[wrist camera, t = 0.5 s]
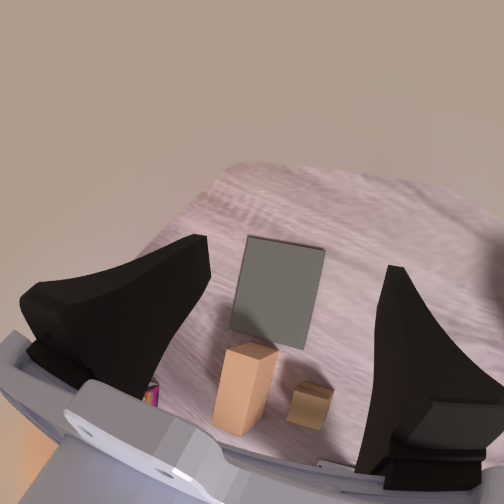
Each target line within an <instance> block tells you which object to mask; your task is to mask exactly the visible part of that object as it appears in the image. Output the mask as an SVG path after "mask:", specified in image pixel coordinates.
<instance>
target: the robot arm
mask: <svg viewBox="0 0 504 504" xmlns="http://www.w3.org/2000/svg"><path fill="white" fill-rule="evenodd" d="M210 278H211V270H210V262H209V253H208V243H207V236H204V235H197V234H192V235H189V236H187V237H184V238H182V239H180V240H177V241H175V242H173V243H171V244H169V245H167V246H165V247H162V248H160V249H158V250H156V251H154V252H152V253H149V254H147V255H145V256H143V257H140V258H138V259H136V260H133V261H131V262H128V263H126V264H123V265H121V266H118V267H115V268H112V269H108V270H105V271H101V272H98V273H94V274H90V275H86V276H81V277H77V278H71V279H65V280H57V281H47V282H38V283H36V284H35V285H34V286H33V287H31V288H30V289H29V290H28V291H27V292H26V293H25V294H23V295H22V296H21V298H20V301H19V302H20V308H21V311H22V313H23V315H24V317H25V319H26V321H27V323H28V325H29V327H30V329H31V330H32V332H33V334H34V336H35V337H36V340H35V341H34V342H33V343H31V341H29V339H27V338H26V337H25V336H23V335H22V334H20V333H19V332H17V331H16V330H13V331H12V333H10V334H9V335H8V336H7V337H6V339H4V341H3V342H1V344H0V392H1V393H2V395H3V396H4V397H5V398H6V399H7V400H8V401H9V402H10V403H11V404H12V405H13V406H14V407H15V408H16V409H17V410H18V411H19V412H21V413H22V414H23V415H24V416H25V417H26V418H27V419H28V420H29V421H31V422H32V423H33V424H34V425H35V426H36V427H37V428H39V429H40V430H41V431H42V432H43V433H45V434H46V435H47V436H48V437H49V438H51V439H52V440H53V441H54V442H56V443H57V444H58V445H59V446H58V448H57V449H56V450H55V452H54V453H53V455H52V456H51V457H50V459H49V460H48V461H47V463H46V464H45V466H44V467H43V468H42V470H41V471H40V473H39V474H38V475H37V477H36V478H35V480H34V481H33V483H32V484H31V486H30V487H29V489H28V490H27V491H26V493H25V494H24V496H23V497H22V498H21V500H20V501H19V503H18V504H504V466H497V467H490V468H486V469H484V470H482V471H481V461H484V460H485V459H486V447H487V446H488V445H490V444H491V443H492V442H493V441H494V440H495V439H496V438H497V437H498V436H499V435H501V434H502V432H503V431H504V386H502V385H501V384H500V383H498V382H497V381H496V380H494V379H493V378H492V377H490V376H489V375H488V374H486V373H485V372H484V371H483V370H482V369H481V368H479V367H478V366H477V365H476V364H475V363H474V362H473V361H472V360H471V359H469V358H468V357H467V356H466V355H465V354H464V353H463V351H462V350H461V349H460V348H459V347H458V346H457V345H456V344H455V343H454V342H453V341H452V340H451V339H450V337H449V336H448V335H447V334H446V332H445V331H444V330H443V329H442V327H441V326H440V325H439V324H438V322H437V321H436V319H435V318H434V317H433V315H432V314H431V312H430V311H429V309H428V308H427V306H426V305H425V303H424V301H423V300H422V298H421V296H420V295H419V293H418V291H417V290H416V288H415V286H414V284H413V283H412V281H411V279H410V277H409V276H408V274H407V272H406V270H405V269H404V267H398V266H392V265H388V268H387V272H386V276H385V280H384V284H383V287H382V291H381V295H380V298H379V302H378V306H377V312H376V321H375V331H374V380H373V390H372V396H371V402H370V407H369V413H368V418H367V423H366V427H365V432H364V436H363V440H362V444H361V448H360V452H359V456H358V460H357V463H356V467H355V468H352V467H348V466H344V465H340V464H336V463H332V462H328V461H325V460H319V461H318V463H317V465H316V467H314V466H309V465H304V464H300V463H295V462H290V461H286V460H282V459H278V458H274V457H270V456H266V455H262V454H258V453H255V452H251V451H248V450H244V449H241V448H238V447H234V446H231V445H228V444H225V443H222V442H219V441H216V440H215V439H214V437H213V436H212V435H210V434H209V433H208V432H206V431H205V430H203V429H202V428H200V427H199V426H198V425H196V424H194V423H192V422H189V421H187V420H185V419H183V418H181V417H179V416H177V415H174V414H172V413H169V412H167V411H164V410H162V409H159V408H157V407H155V406H152V405H150V404H148V403H145V402H143V401H142V400H143V398H144V395H145V393H146V390H147V388H148V386H149V383H150V381H151V379H152V376H153V374H154V372H155V370H156V368H157V366H158V364H159V362H160V360H161V358H162V356H163V354H164V352H165V350H166V348H167V346H168V345H169V343H170V341H171V339H172V338H173V336H174V335H175V333H176V332H177V330H178V329H179V327H180V326H181V325H182V323H183V322H184V320H185V319H186V318H187V316H188V315H189V313H190V312H191V311H192V309H193V308H194V306H195V305H196V303H197V302H198V301H199V299H200V298H201V296H202V294H203V292H204V291H205V289H206V287H207V285H208V282H209V280H210ZM319 465H321V466H322V467H319Z"/></svg>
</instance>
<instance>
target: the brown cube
mask: <svg viewBox="0 0 504 504" xmlns="http://www.w3.org/2000/svg"><path fill="white" fill-rule="evenodd" d="M333 394H334V390H333V389H329V388H326V387H322V386H318V385H315V384H311V383H307V382H303V383H302V384H301V385H299V386H298V387H297V388H296V389H295V391H294V394H293V398H292V401H291V405H290V408H289V412H288V415H287V419H286V420H287V421H290V422H293V423H296V424H299V425H302V426H305V427H309V428H312V429H316V430H319V429H320V427H321V426H322V424H323V422H324V420H325V418H326V416H327V413H328V409H329V406H330V403H331V400H332V397H333Z"/></svg>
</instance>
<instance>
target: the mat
mask: <svg viewBox="0 0 504 504" xmlns="http://www.w3.org/2000/svg"><path fill="white" fill-rule="evenodd" d="M325 252H326V251H323V250H317V249H312V248H306V247H301V246H295V245H289V244H284V243H278V242H273V241H267V240H261V239H256V238H250V237H249V238H248V243H247V247H246V252H245V257H244V261H243V266H242V271H241V275H240V280H239V285H238V290H237V294H236V299H235V304H234V308H233V313H232V318H231V323H230V327H229V328H230V329H233V330H236V331H239V332H243V333H246V334H249V335H252V336H256V337H259V338H262V339H266V340H269V341H273V342H276V343H280V344H283V345H287V346H290V347H294V348H297V349H301V350H303V349H304V346H305V342H306V338H307V334H308V330H309V326H310V321H311V317H312V313H313V308H314V304H315V299H316V295H317V290H318V286H319V281H320V276H321V271H322V267H323V262H324V257H325Z"/></svg>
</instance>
